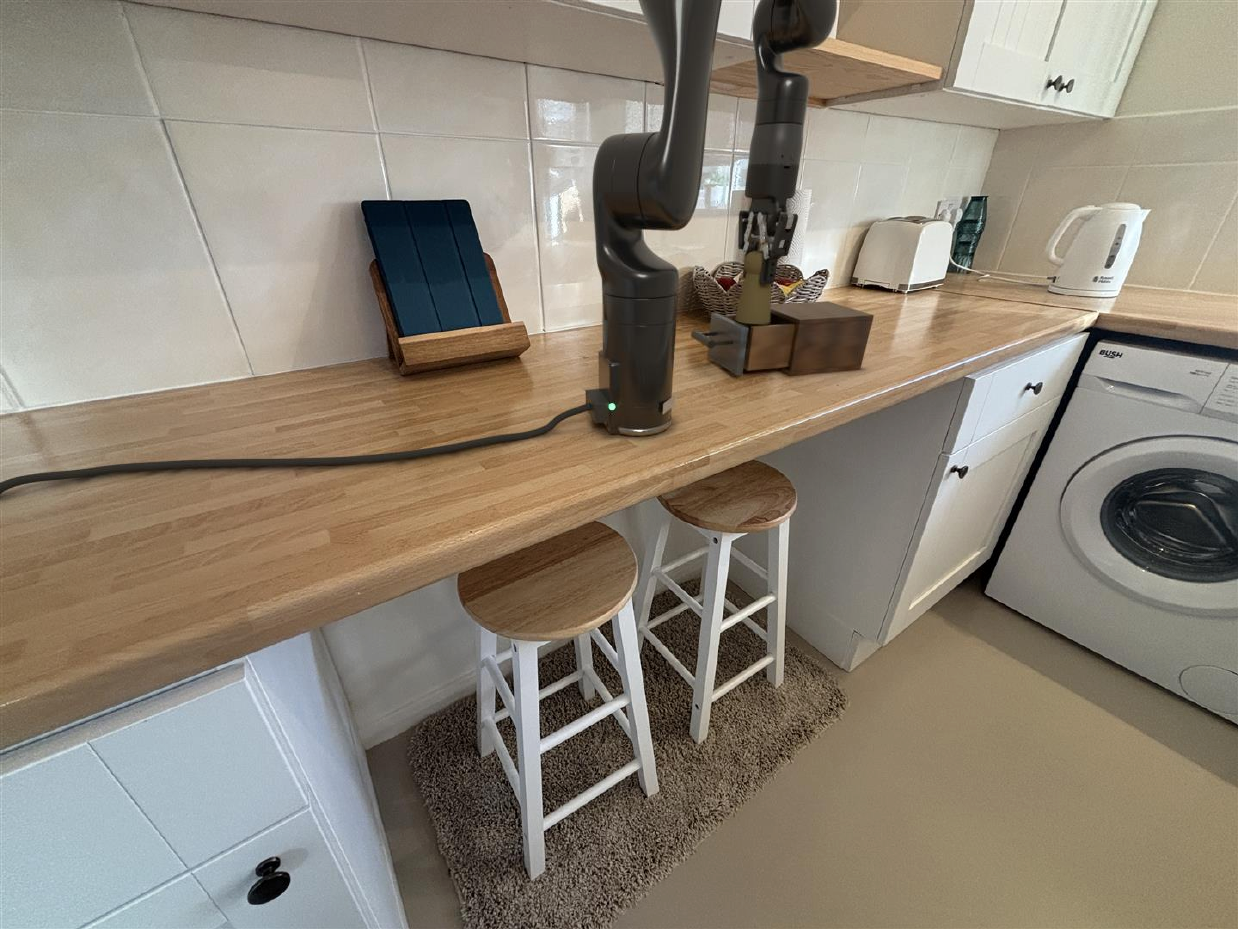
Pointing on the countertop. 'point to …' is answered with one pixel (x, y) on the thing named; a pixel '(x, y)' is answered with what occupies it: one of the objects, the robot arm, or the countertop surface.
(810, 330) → the cabinet
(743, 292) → the olive chess pawn
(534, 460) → the countertop surface
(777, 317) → the drawer
